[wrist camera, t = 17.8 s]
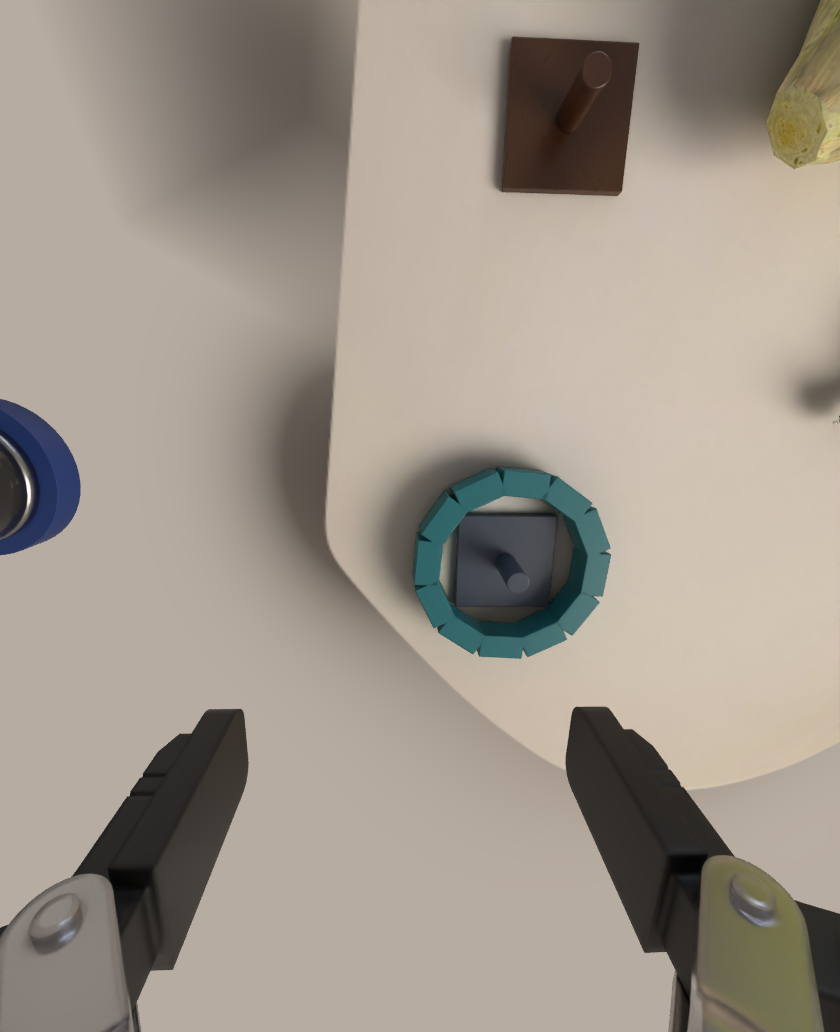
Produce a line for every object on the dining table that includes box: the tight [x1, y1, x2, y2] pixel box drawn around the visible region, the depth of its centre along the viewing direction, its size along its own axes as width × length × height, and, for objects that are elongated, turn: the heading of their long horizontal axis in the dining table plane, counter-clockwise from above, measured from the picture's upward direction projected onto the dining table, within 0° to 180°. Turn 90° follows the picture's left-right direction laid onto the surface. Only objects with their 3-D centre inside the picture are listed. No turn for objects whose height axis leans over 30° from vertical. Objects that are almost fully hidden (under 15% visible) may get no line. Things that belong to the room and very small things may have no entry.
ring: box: [413, 467, 611, 659], centre depth 33 cm, size 14×14×2 cm
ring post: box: [502, 37, 639, 196], centre depth 24 cm, size 8×8×4 cm
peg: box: [455, 514, 557, 607], centre depth 32 cm, size 8×8×4 cm
